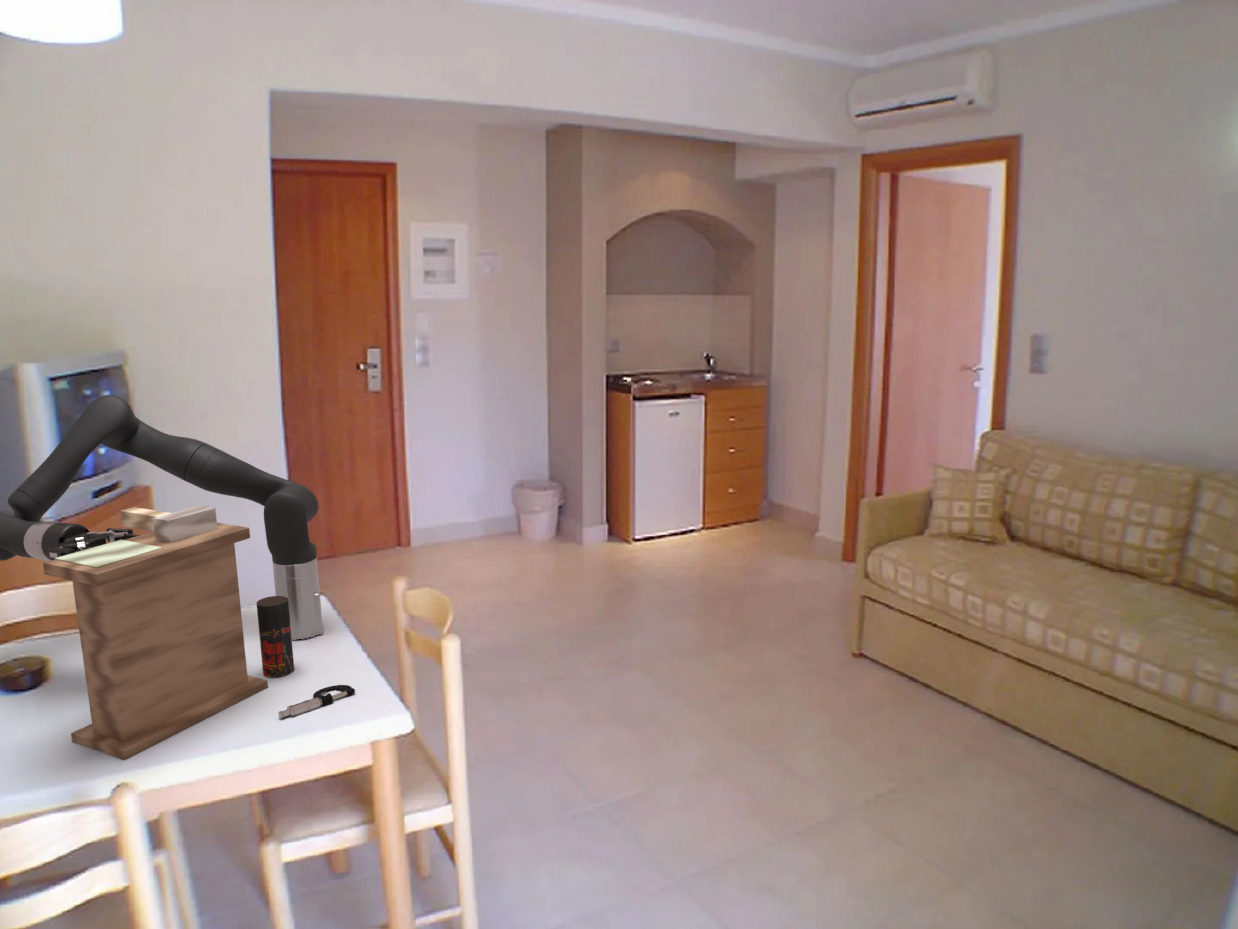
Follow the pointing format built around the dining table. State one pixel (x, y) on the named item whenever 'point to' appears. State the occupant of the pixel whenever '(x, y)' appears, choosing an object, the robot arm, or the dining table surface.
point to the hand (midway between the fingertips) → (122, 547)
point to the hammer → (171, 522)
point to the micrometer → (317, 700)
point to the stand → (158, 635)
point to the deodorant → (275, 636)
